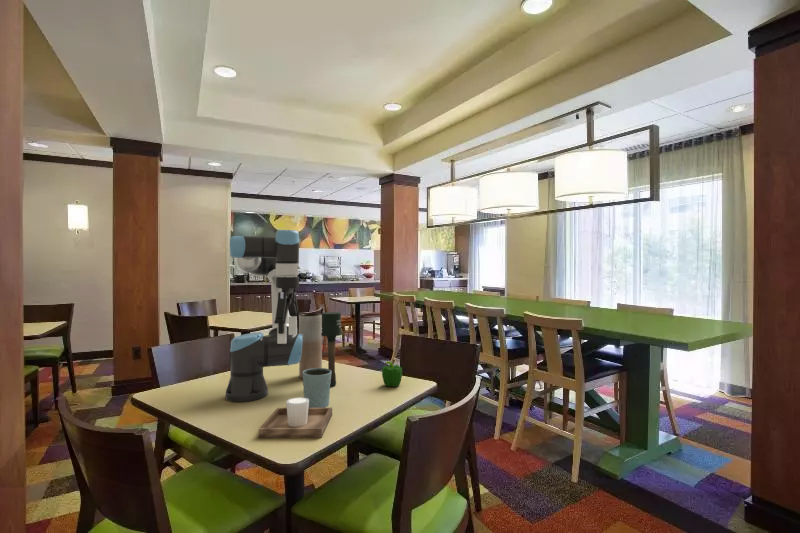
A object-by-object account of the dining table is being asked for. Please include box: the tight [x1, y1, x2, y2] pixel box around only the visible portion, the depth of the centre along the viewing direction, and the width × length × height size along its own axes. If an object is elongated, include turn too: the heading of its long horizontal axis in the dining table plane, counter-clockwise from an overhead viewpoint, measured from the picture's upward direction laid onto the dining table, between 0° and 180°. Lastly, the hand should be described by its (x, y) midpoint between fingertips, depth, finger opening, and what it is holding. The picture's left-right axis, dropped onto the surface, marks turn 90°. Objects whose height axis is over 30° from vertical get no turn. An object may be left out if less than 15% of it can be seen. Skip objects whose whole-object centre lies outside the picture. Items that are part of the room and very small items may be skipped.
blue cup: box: [302, 367, 332, 408], centre depth 144 cm, size 10×10×12 cm
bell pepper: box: [381, 360, 403, 388], centre depth 168 cm, size 8×8×10 cm
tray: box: [257, 407, 333, 439], centre depth 125 cm, size 18×18×2 cm
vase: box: [298, 312, 323, 379], centre depth 183 cm, size 10×10×28 cm
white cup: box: [285, 396, 309, 427], centre depth 125 cm, size 7×7×7 cm
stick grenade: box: [321, 311, 343, 388], centre depth 168 cm, size 8×9×30 cm
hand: (287, 338), depth 138 cm, fingers open, 13 cm apart
